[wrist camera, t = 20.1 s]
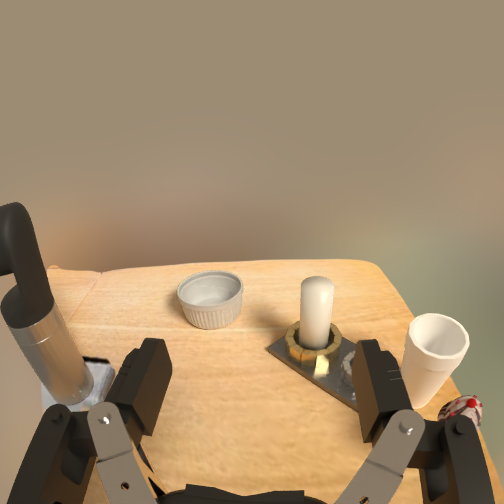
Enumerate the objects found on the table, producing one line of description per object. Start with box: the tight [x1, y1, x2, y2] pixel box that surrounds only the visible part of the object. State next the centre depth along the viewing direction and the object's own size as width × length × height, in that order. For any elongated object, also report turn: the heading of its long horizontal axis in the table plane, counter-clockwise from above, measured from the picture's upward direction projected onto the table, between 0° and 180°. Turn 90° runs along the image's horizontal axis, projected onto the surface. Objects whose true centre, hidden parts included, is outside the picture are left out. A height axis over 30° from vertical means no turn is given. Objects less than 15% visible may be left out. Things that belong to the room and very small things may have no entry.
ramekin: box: [177, 270, 243, 330], centre depth 61 cm, size 13×13×7 cm
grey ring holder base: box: [268, 321, 358, 412], centre depth 47 cm, size 20×11×4 cm, turn 41°
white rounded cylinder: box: [299, 276, 334, 351], centre depth 47 cm, size 5×5×13 cm
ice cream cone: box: [438, 395, 482, 431], centre depth 25 cm, size 6×6×15 cm
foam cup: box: [400, 313, 469, 409], centre depth 36 cm, size 10×9×13 cm
